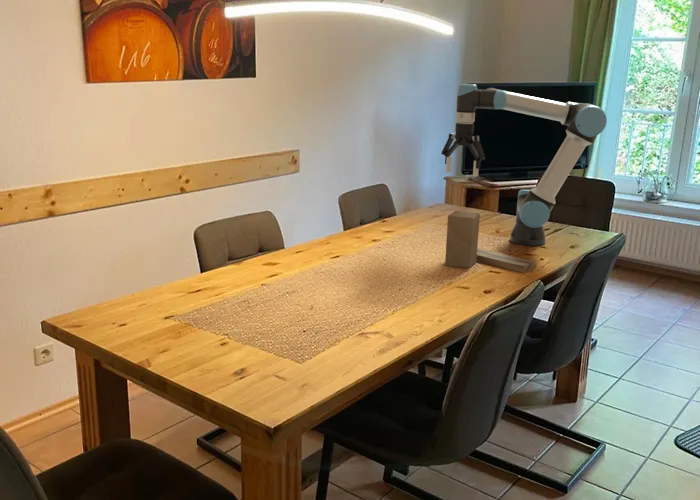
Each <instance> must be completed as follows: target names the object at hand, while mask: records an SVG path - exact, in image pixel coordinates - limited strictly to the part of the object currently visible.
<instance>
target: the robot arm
mask: <svg viewBox="0 0 700 500" xmlns="http://www.w3.org/2000/svg"><path fill="white" fill-rule="evenodd" d="M477 86H478V85H477V84H475V83H474V84H473V83H461V84H459V85H458V87H457V97H456V98H457V99H456V116H455V122H456V123H455V130H454V131H455V133H454V132H450V133H448V137H447V138H448V139H447V141H446V142H445V145H444V146H443V149H442V151H441V155H443V156H444V157H445V159H444V164H445V173H451V172H452V165H453V164H452V163H453V162H452V161H453V156H452V154H453V153H454V152H455V151H456V149H457V148H458V147H459V146H463V147H467V148H468V149H469V151H470V153H471V154H472V156H473V158H474V160H473V169H472V177H474V178H475V177H478V176H479V169H481V163H482V160H483V161H484V160H486V155H485V152H484V149H483V146H482V144H481V136H480V135H475V136H474V131H475V124H474V123H475V120H476V119H475V118H476V109H485V110H486V109H487V110H505V111H510V112H513V113H514V112H515V113H519V114H524V115H527V116H533V117H538V118H543V119H548V120H551V121H556V122H560V124H561V125H563V126H567V128H566V129H565V132H566V137H565V138H564V139H563V140H564V141H563V142H562V143H561V145H560V147H559V148H558V150H557V152H556V154H555V155H554V157H553V159H551V162H550V164H549V165H548V167H547V169H546V170H545V171H544V174H542V177H541V179H540V180H539V182H538V183H537V185H536V186H535V187H534V188H530V189H520V190H519V191H518V193H517V194H518V195H517V203H516V215H515V223H514V226H513V228H512V231H511V233H510V238H509V240H510V241H511V242H512V243H514V244H516V245H523V246H542V245H543V246H544V245H545V244H546V240H547V239H546V238H547V237H546V233H545V228H544V225H545V224H546V223H547V222H548V220H549V219H550V214H551V211H552V210H553V208H554V207H555V204H556V203H557V202H556V196H557V195H558V193H559V191H560V189H561V188H562V187H563V185H564V183H565V181H566V180H567V178H568V176H569V175H570V173H571V172H572V171H573V168H574V167H575V165H576V163H578V161H579V158H580V157H581V156H582V154H583V152H584V150H585V149H586V147H588V146H590V145H593V143H594V141H595V140H596V139H597V137H598V136H599V135H601V133H602V132H603V131H604V130H605V128H606V126H607V123H608V122H607V121H608V120H607V115H606V113H605V111H604V109H602V108H601V107H600V106H597V105H596V104H592V103H584V102H583V103H582V102H573V101H567V102H561V101H556V100H551V99H545V98H541V97H536V96H530V95H526V94H522V93H518V92H517V93H516V92H512V91H507V90H502V89H498V88H495V87H488V88H486V89H480V88H479V89H478V87H477ZM454 140H455V141H454ZM452 143H453V144H452Z"/></svg>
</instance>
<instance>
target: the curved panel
mask: <svg viewBox="0 0 700 500" xmlns="http://www.w3.org/2000/svg"><path fill="white" fill-rule="evenodd" d="M479 261H480V262H479ZM476 262H479V263H484V264H488V265H492V266H496V267H500V268H503V269H507V270H511V271H515V272H519V273H525V272H528V271H531V270H533V269H536V264H537V263H536V261H535V260H531V259H525V258H522V257H519V256H515V255H509V254H505V253H500V252H497V251H494V250H489V249H485V248H480V247H477V260H476Z"/></svg>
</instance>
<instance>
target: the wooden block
mask: <svg viewBox="0 0 700 500" xmlns="http://www.w3.org/2000/svg"><path fill="white" fill-rule="evenodd" d="M480 218H481V215H480V212H473V211H463V210H455V211H453V212H452V213H450V214H448V216H447V227H446V229H447V230H446V243H445V259H444V260H445V261H444V265H445V266H451V267H456V268H462V269H468V268H469V269H471V268H472V267H473V266H474V265H475V264H476V263H477V261H476V260H477V248H479V247H478V245H479V230H480Z"/></svg>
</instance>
